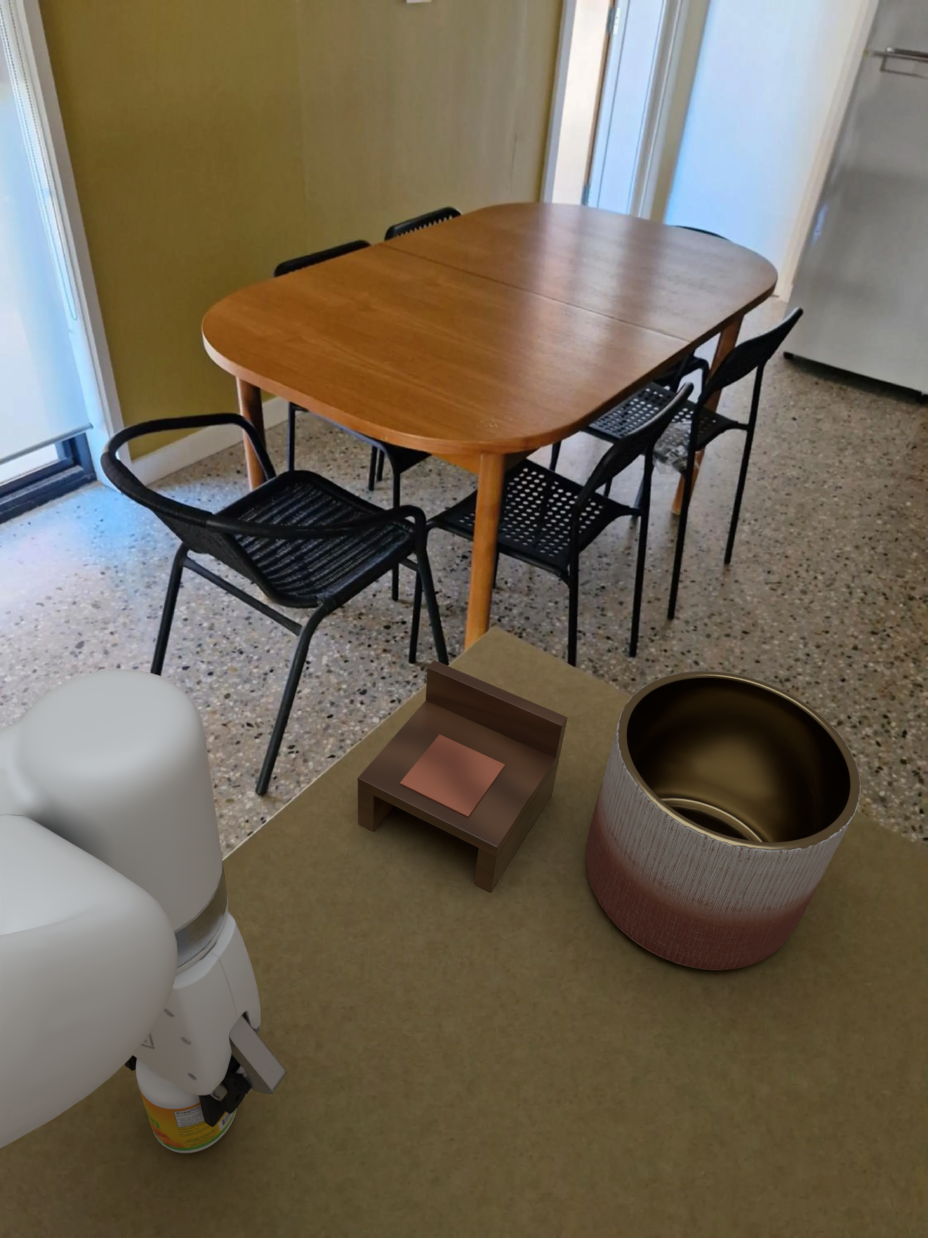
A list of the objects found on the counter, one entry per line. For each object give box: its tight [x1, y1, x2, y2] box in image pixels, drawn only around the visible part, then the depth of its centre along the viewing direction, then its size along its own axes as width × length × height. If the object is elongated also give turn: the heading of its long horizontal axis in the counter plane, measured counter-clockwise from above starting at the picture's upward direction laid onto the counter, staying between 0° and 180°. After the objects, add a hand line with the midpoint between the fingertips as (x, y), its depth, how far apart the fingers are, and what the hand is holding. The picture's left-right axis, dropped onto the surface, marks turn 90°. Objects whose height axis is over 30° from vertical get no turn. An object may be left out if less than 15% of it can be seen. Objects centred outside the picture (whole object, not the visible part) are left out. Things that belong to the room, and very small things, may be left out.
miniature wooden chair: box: [357, 659, 569, 893], centre depth 75 cm, size 12×13×10 cm
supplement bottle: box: [135, 1058, 238, 1154], centre depth 54 cm, size 5×5×10 cm
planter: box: [585, 670, 862, 971], centre depth 69 cm, size 18×18×16 cm
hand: (186, 1074), depth 54 cm, fingers closed on supplement bottle, 5 cm apart
